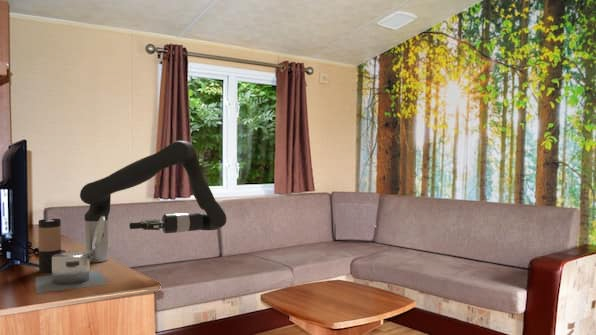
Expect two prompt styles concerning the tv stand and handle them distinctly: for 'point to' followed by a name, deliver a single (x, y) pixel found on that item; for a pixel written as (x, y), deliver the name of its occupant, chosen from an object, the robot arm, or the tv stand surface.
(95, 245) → the lid
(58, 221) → the travel mug
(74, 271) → the pot
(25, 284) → the tv stand surface
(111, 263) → the tv stand surface
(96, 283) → the mat
